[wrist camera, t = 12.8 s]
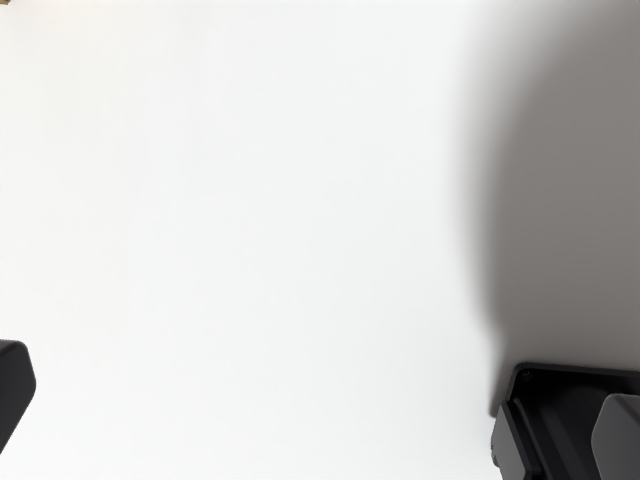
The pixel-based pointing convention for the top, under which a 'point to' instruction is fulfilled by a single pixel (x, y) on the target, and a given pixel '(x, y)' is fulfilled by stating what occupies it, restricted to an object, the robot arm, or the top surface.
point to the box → (4, 1)
